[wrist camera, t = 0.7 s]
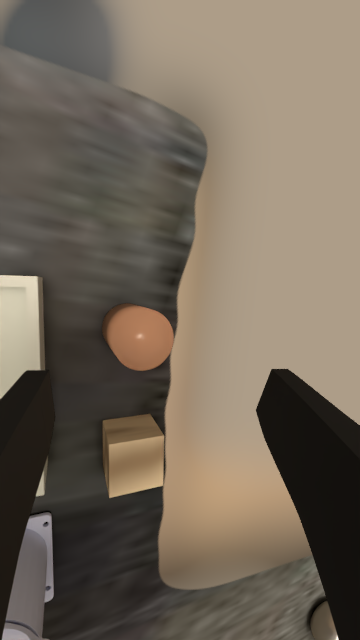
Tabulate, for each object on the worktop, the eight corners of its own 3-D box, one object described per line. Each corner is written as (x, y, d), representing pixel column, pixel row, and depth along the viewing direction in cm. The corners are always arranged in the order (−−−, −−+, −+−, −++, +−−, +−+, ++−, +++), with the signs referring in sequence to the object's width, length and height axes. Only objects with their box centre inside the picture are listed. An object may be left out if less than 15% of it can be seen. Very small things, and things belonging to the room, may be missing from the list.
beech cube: (149, 456, 32) (163, 485, 28) (102, 465, 31) (109, 497, 26) (149, 413, 32) (163, 435, 27) (102, 420, 30) (109, 444, 25)
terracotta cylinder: (150, 350, 31) (172, 368, 25) (102, 353, 29) (112, 373, 23) (151, 303, 30) (174, 308, 24) (101, 303, 29) (112, 308, 22)
